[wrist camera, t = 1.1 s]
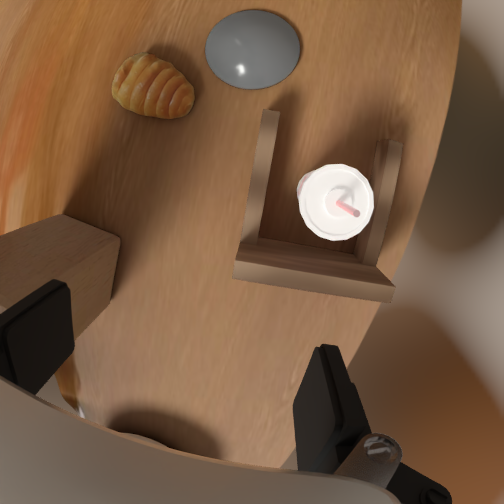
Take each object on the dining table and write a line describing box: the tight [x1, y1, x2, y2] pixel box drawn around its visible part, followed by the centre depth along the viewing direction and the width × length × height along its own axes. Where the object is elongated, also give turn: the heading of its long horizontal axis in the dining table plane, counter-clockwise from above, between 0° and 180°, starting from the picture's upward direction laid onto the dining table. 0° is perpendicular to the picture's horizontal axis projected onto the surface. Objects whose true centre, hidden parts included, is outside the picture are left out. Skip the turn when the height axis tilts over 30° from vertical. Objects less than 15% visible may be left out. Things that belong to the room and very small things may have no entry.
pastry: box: [112, 52, 195, 119], centre depth 27 cm, size 9×7×4 cm
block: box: [0, 214, 120, 341], centre depth 25 cm, size 10×10×20 cm
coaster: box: [205, 10, 300, 90], centre depth 27 cm, size 10×10×1 cm
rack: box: [232, 109, 403, 303], centre depth 27 cm, size 15×14×9 cm
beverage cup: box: [297, 164, 374, 241], centre depth 25 cm, size 6×6×14 cm
